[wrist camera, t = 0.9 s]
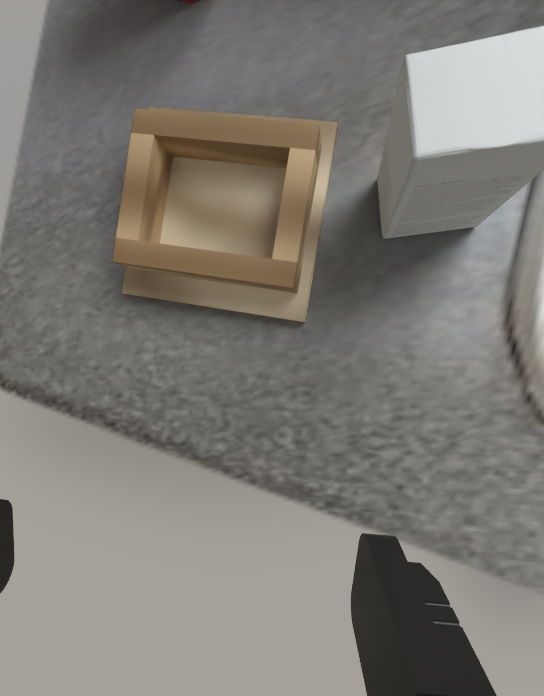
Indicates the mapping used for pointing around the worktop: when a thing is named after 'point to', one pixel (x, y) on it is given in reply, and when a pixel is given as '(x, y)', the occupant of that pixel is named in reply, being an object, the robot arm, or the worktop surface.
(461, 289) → the worktop surface
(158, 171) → the socket holder
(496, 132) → the skincare box
